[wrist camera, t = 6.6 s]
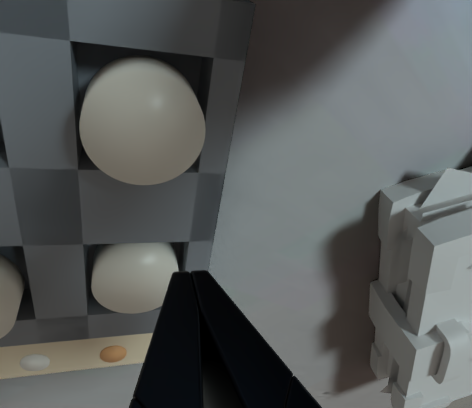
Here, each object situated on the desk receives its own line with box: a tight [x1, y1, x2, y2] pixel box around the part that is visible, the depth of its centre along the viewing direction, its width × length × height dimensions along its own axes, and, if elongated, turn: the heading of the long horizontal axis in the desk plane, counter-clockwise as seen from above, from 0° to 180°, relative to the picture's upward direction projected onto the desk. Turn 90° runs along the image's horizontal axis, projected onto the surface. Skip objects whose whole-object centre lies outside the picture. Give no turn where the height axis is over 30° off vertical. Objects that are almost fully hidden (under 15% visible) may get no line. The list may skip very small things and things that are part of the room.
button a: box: [79, 55, 206, 185], centre depth 14 cm, size 4×4×2 cm
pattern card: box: [0, 333, 153, 379], centre depth 26 cm, size 12×6×1 cm, turn 80°
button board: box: [0, 0, 256, 347], centre depth 17 cm, size 15×18×3 cm
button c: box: [91, 242, 179, 314], centre depth 20 cm, size 4×4×2 cm
